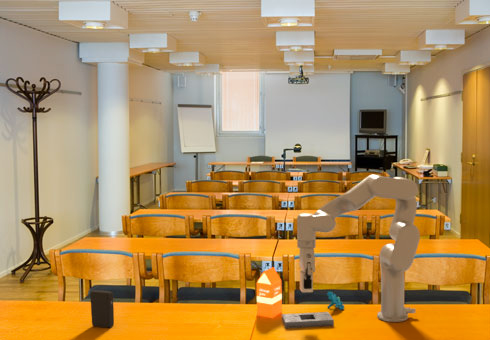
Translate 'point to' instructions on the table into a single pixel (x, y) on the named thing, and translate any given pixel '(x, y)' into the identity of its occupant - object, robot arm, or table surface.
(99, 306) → the card reader
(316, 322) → the grey peg hole board
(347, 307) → the table surface
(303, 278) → the square peg
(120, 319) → the table surface
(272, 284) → the orange juice
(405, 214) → the robot arm
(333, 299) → the teal plastic figure
